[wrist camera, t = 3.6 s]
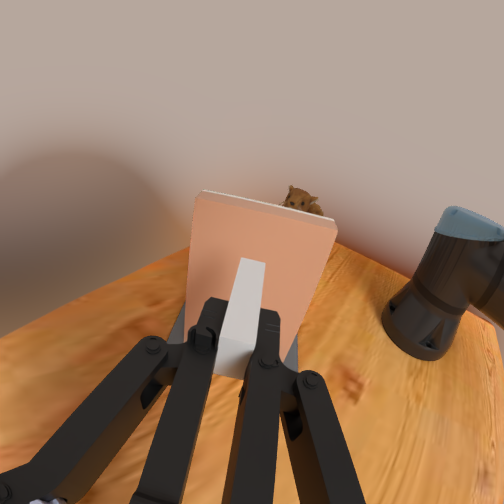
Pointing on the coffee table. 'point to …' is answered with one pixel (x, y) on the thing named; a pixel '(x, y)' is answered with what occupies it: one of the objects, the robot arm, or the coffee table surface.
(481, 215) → the robot arm
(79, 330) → the coffee table surface
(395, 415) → the coffee table surface
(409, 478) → the coffee table surface
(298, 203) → the stuffed squirrel
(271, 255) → the tile
